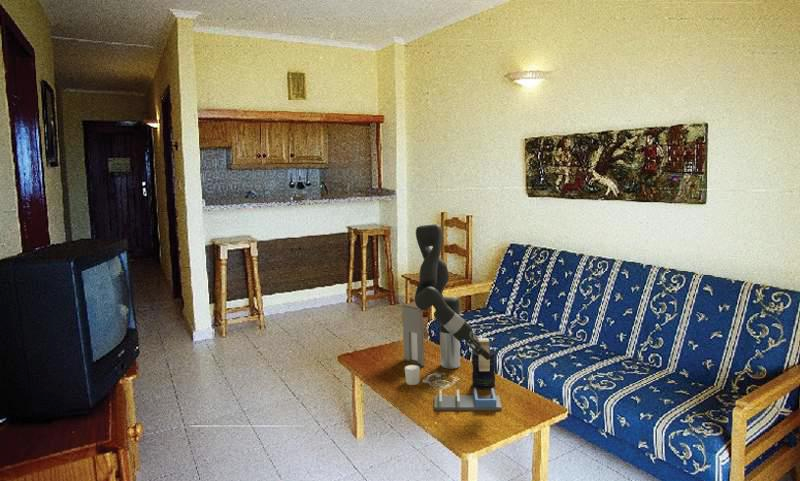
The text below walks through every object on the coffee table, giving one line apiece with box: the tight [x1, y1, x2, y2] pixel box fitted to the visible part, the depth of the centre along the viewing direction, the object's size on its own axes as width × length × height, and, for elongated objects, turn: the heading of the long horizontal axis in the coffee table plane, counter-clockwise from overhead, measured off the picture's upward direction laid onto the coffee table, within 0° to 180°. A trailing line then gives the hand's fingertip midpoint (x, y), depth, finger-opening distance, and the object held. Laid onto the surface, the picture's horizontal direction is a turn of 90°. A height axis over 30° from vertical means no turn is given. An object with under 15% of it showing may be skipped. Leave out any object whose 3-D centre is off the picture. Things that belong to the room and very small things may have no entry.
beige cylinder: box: [404, 364, 421, 386], centre depth 236 cm, size 7×7×7 cm
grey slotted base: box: [433, 387, 503, 411], centre depth 212 cm, size 11×26×4 cm, turn 85°
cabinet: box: [401, 300, 425, 368], centre depth 263 cm, size 21×10×28 cm, turn 179°
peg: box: [477, 337, 490, 371], centre depth 209 cm, size 4×4×12 cm
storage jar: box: [471, 348, 496, 390], centre depth 229 cm, size 10×10×18 cm
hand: (488, 356), depth 209 cm, fingers closed on peg, 4 cm apart
